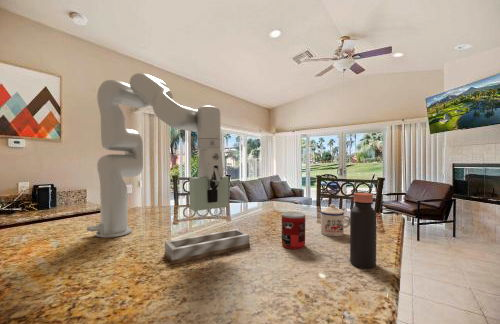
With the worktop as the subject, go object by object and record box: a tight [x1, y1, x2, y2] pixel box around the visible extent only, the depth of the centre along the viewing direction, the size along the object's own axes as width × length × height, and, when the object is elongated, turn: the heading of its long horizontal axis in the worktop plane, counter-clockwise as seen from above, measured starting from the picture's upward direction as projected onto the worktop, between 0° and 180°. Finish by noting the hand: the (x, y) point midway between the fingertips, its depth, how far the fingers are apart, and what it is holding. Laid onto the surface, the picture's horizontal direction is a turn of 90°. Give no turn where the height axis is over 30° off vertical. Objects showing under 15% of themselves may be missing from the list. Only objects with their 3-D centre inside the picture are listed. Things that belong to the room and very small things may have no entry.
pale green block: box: [189, 175, 230, 212], centre depth 81 cm, size 12×4×10 cm, turn 123°
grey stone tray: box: [164, 228, 251, 265], centre depth 82 cm, size 26×9×4 cm, turn 123°
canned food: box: [281, 211, 306, 250], centre depth 86 cm, size 8×8×11 cm
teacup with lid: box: [320, 203, 350, 237], centre depth 100 cm, size 12×9×12 cm
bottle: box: [349, 192, 377, 270], centre depth 71 cm, size 7×7×20 cm
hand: (209, 200), depth 81 cm, fingers closed on pale green block, 4 cm apart
